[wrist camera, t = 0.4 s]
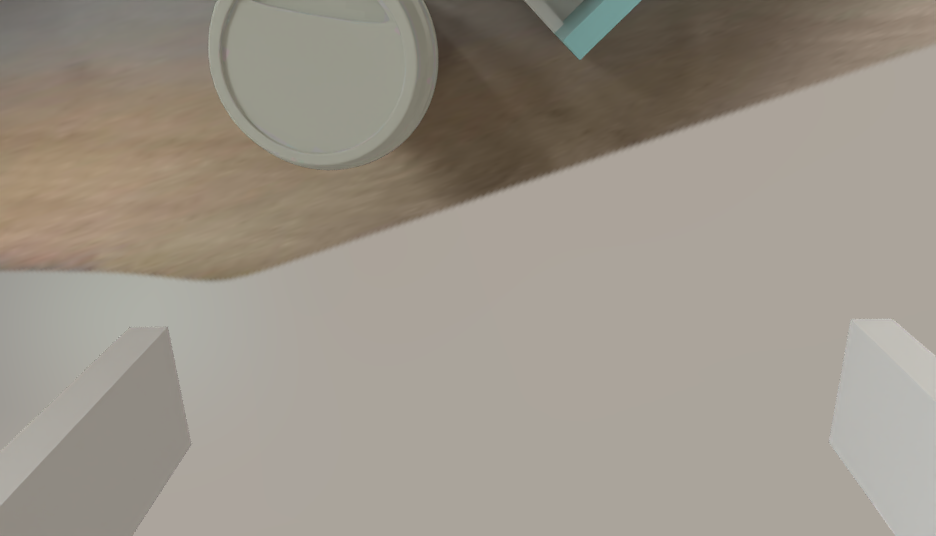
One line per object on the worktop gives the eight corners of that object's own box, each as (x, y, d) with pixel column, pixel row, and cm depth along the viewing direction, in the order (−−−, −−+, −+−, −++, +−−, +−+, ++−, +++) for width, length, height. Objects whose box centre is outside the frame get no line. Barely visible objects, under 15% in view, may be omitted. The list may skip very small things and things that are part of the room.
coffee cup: (491, 31, 37) (484, 51, 25) (384, 158, 39) (334, 226, 28) (357, -94, 35) (285, -132, 24) (253, 47, 37) (145, 72, 26)
